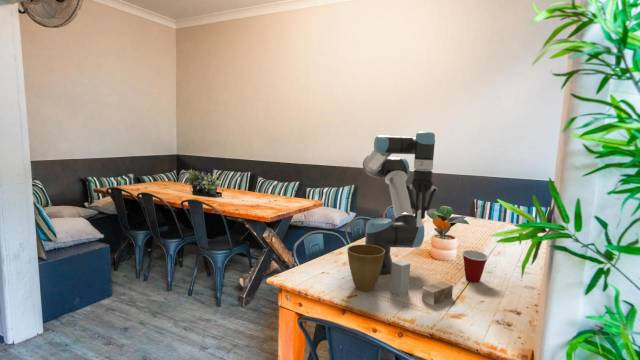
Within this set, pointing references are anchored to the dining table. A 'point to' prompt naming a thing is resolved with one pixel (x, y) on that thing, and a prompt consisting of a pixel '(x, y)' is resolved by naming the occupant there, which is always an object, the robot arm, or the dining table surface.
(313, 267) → the dining table surface
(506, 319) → the dining table surface
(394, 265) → the grey block
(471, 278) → the plastic cup
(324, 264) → the dining table surface
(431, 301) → the walnut block
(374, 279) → the plant pot
